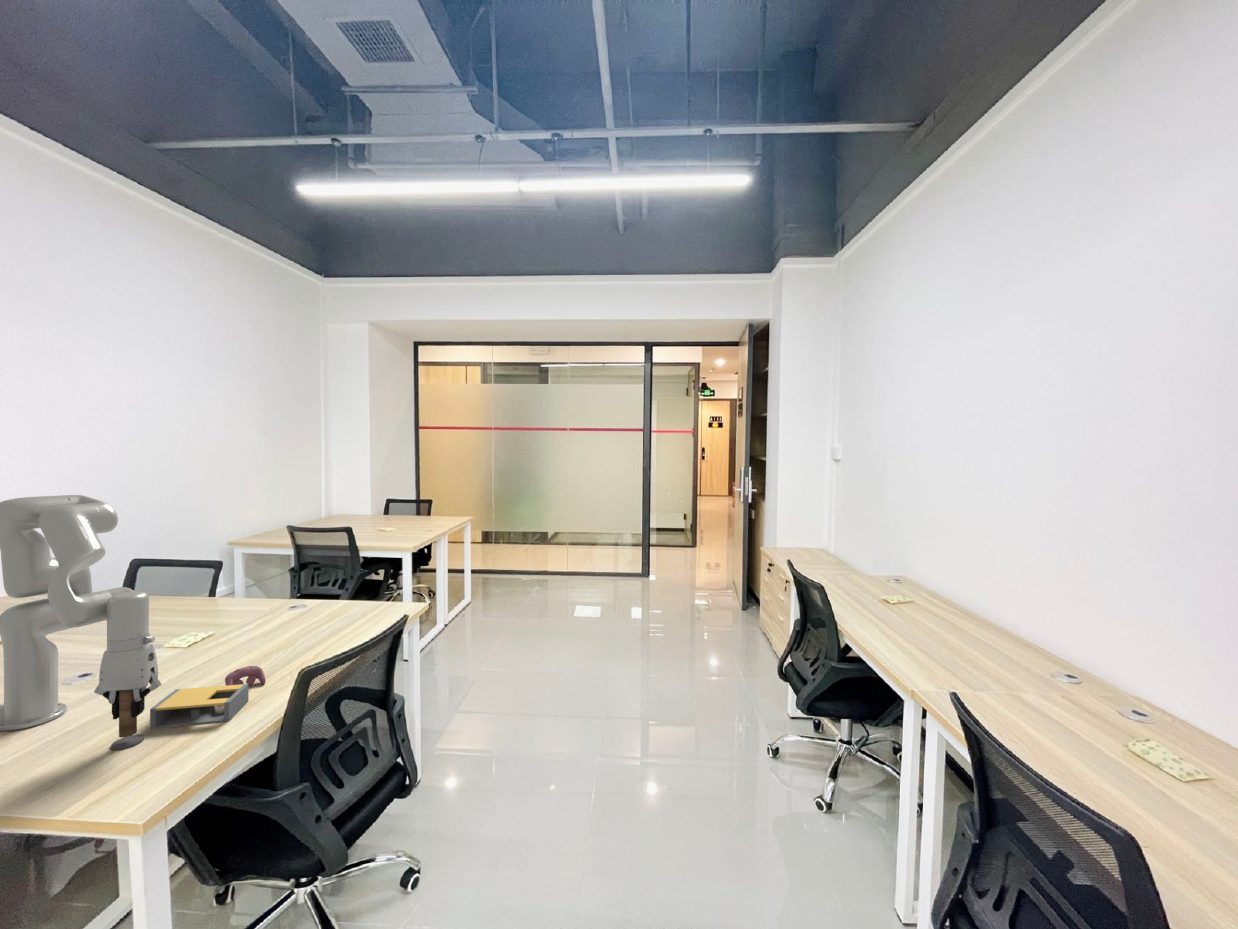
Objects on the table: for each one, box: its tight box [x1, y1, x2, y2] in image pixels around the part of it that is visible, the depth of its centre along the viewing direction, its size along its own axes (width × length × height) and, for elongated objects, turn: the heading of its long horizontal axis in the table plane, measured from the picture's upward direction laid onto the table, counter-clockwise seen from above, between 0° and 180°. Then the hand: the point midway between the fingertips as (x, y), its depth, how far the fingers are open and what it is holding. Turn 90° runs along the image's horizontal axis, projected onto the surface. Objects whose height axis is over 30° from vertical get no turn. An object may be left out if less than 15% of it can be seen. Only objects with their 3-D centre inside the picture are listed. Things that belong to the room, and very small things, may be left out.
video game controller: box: [224, 665, 267, 686], centre depth 156 cm, size 10×5×7 cm, turn 142°
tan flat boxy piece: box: [149, 683, 250, 729], centre depth 139 cm, size 18×11×5 cm, turn 104°
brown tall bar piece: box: [118, 690, 138, 738], centre depth 125 cm, size 3×3×13 cm
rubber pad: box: [110, 734, 145, 751], centre depth 125 cm, size 6×6×1 cm
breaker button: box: [215, 705, 224, 713], centre depth 140 cm, size 4×4×2 cm
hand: (128, 715), depth 125 cm, fingers closed on brown tall bar piece, 3 cm apart
